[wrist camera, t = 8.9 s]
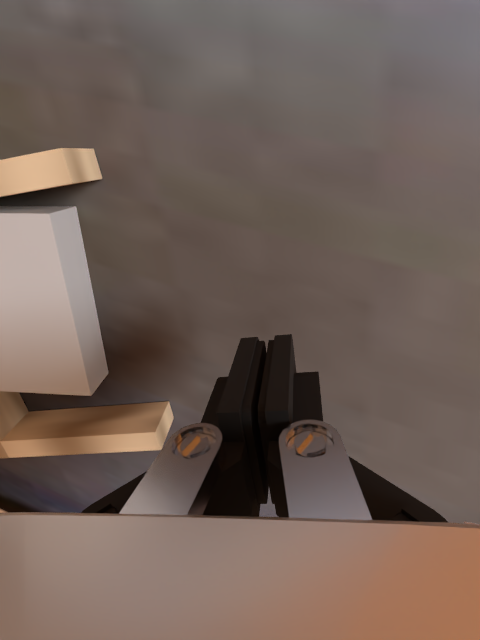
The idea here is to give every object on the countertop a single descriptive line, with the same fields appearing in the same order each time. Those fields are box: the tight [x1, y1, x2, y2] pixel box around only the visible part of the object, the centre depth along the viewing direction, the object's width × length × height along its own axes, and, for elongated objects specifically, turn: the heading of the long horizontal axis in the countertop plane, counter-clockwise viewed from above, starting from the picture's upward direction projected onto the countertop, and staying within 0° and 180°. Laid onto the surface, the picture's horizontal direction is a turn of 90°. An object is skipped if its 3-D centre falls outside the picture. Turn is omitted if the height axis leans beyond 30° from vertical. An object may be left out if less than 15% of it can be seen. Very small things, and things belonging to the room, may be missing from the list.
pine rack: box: [0, 148, 174, 458], centre depth 18 cm, size 10×14×2 cm
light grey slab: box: [0, 206, 108, 396], centre depth 18 cm, size 6×9×2 cm, turn 1°
